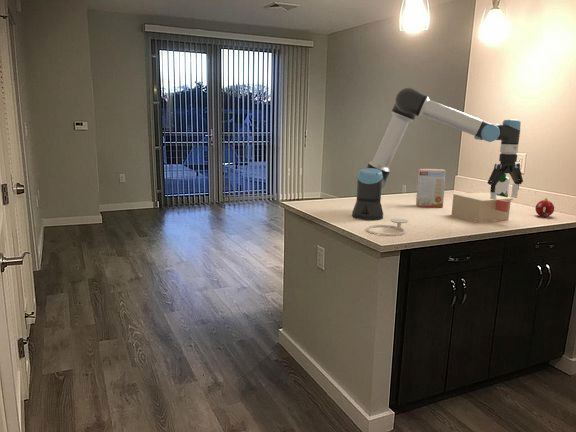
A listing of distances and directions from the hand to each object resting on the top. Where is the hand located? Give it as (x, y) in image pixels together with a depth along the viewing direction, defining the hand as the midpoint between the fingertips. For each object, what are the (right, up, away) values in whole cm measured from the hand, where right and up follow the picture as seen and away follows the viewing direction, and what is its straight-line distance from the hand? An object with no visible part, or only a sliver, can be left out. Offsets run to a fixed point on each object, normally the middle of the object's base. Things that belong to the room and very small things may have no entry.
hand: (503, 198), depth 226 cm
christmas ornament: (+30, -9, +20) cm, 37 cm away
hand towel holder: (-59, -15, -18) cm, 63 cm away
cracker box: (-24, -3, +40) cm, 46 cm away
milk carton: (+12, -5, +35) cm, 37 cm away
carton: (-6, -9, +14) cm, 18 cm away
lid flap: (-4, -4, +10) cm, 11 cm away
